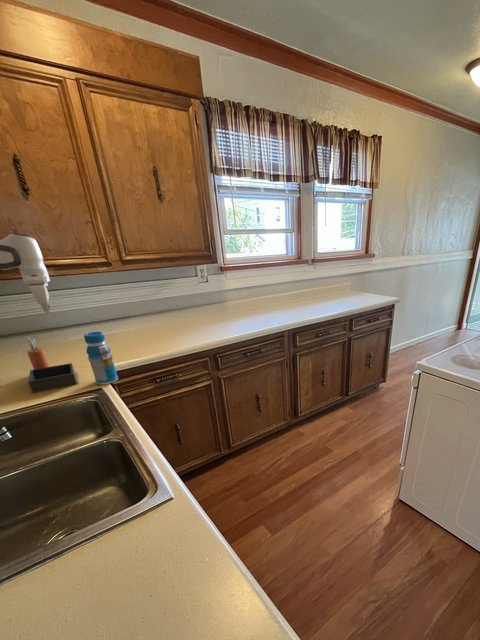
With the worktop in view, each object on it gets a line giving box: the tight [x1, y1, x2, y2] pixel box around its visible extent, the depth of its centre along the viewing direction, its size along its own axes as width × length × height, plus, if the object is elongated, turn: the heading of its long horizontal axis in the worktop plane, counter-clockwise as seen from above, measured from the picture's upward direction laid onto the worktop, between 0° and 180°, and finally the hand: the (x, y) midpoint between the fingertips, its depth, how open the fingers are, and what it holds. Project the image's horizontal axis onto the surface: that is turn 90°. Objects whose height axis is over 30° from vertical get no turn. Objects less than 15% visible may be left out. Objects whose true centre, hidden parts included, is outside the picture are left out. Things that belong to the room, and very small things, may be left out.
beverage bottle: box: [83, 331, 119, 385], centre depth 131 cm, size 8×8×20 cm
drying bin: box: [27, 362, 78, 393], centre depth 133 cm, size 15×15×5 cm
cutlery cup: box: [26, 336, 51, 370], centre depth 138 cm, size 6×6×17 cm
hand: (47, 311), depth 140 cm, fingers open, 8 cm apart
